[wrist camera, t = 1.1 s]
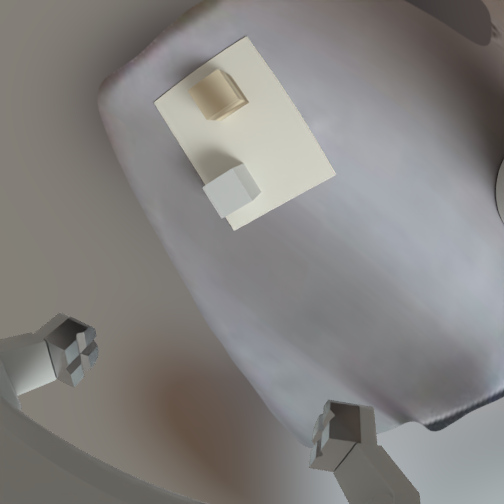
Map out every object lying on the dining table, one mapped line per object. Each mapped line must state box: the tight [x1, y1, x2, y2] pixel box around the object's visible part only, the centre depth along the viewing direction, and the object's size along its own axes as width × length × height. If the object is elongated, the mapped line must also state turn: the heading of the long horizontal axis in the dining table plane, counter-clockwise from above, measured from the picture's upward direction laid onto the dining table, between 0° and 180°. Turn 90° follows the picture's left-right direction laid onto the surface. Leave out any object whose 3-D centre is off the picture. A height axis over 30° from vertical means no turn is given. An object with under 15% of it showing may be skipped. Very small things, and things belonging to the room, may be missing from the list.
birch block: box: [188, 69, 249, 121], centre depth 36 cm, size 4×4×6 cm
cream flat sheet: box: [154, 36, 336, 231], centre depth 40 cm, size 16×22×1 cm
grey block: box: [202, 163, 261, 218], centre depth 40 cm, size 4×4×6 cm
